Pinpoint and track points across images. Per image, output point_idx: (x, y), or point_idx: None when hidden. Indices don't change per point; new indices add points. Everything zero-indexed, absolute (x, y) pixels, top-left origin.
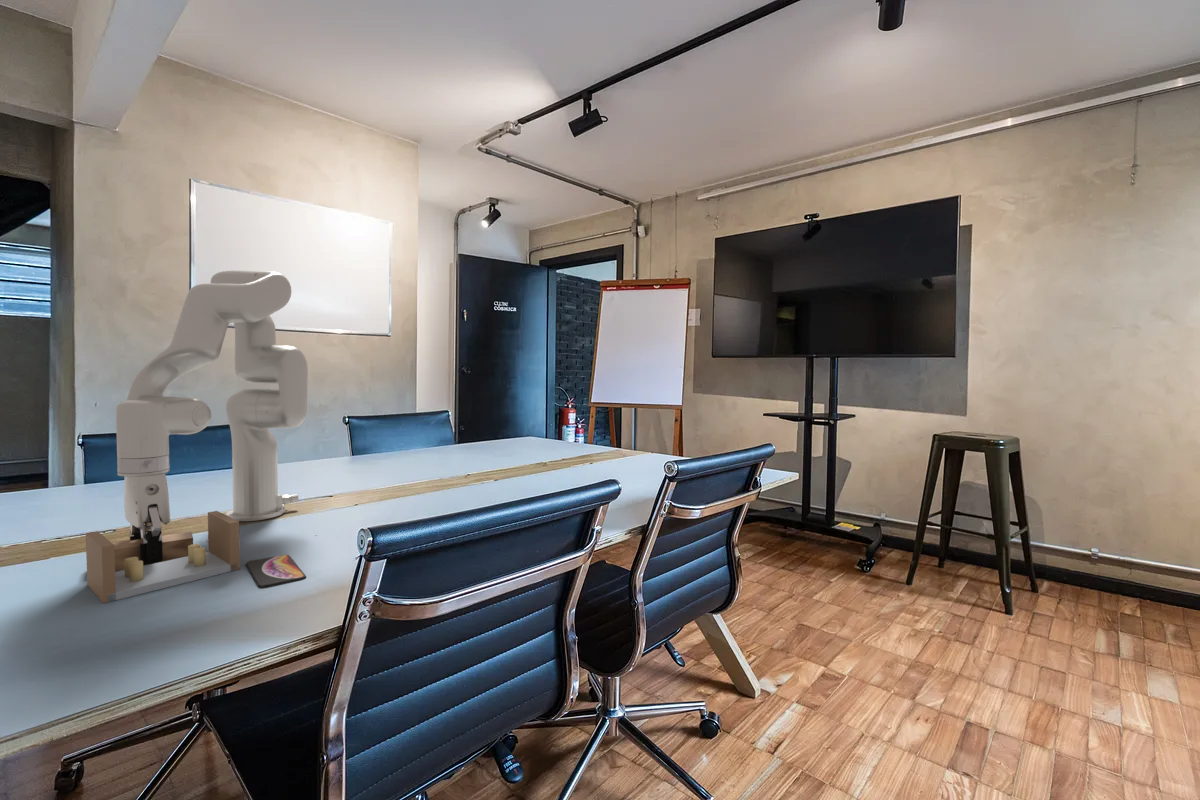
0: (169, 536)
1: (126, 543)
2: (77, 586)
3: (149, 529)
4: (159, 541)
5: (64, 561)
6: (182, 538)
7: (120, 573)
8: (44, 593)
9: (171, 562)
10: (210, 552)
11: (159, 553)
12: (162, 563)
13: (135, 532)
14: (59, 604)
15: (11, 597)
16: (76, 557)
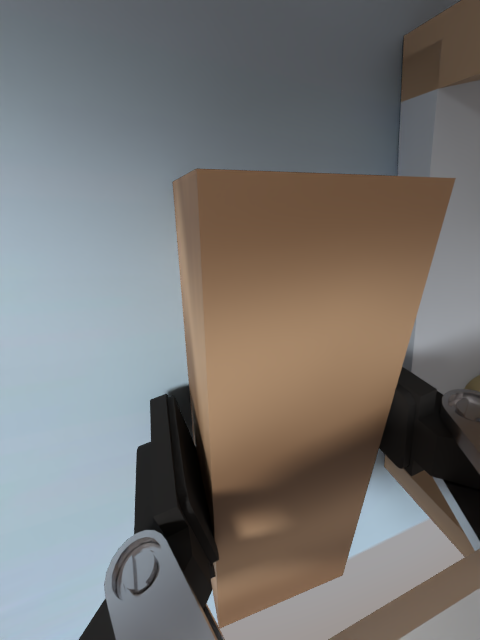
0: (272, 363)
1: (277, 537)
2: (373, 482)
3: (175, 559)
4: (432, 397)
5: (72, 622)
6: (405, 263)
7: None
8: (370, 519)
9: (453, 290)
10: (472, 81)
11: None
12: (438, 322)
13: (205, 599)
14: None
15: (348, 557)
16: (24, 620)
